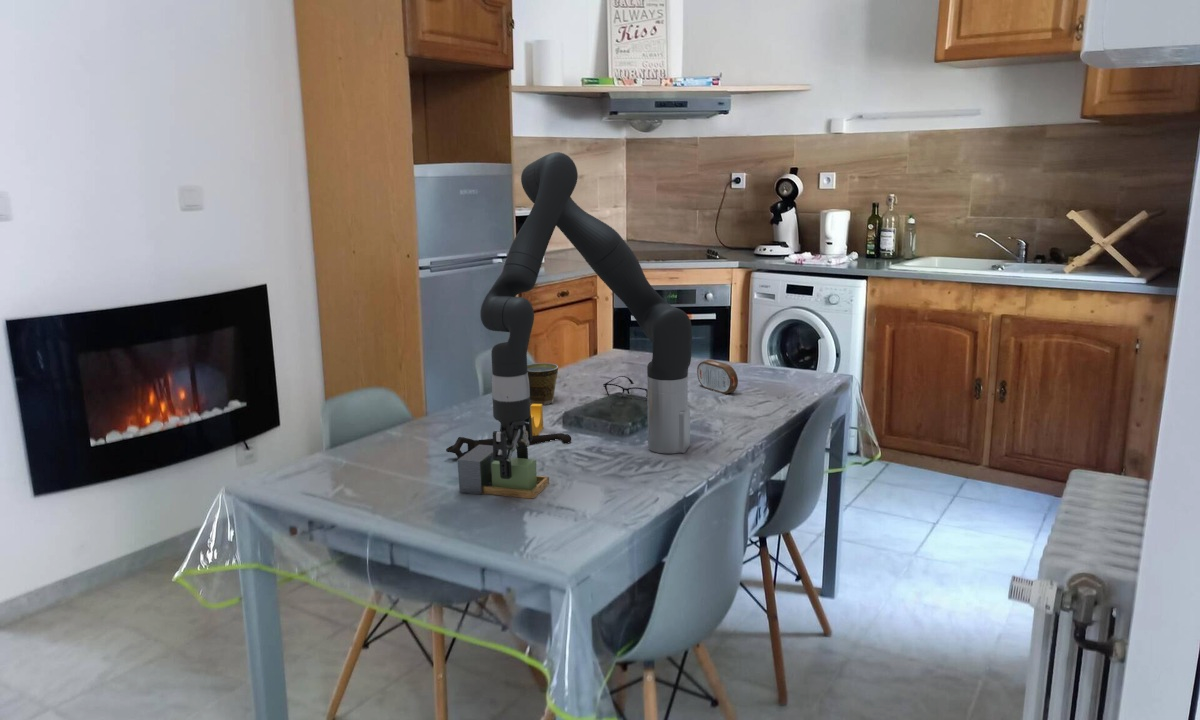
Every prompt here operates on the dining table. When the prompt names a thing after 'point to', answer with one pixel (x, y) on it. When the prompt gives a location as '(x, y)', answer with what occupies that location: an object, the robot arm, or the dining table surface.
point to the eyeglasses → (622, 387)
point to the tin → (717, 376)
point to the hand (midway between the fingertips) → (514, 471)
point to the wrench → (536, 439)
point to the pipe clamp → (536, 419)
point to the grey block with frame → (488, 475)
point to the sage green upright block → (516, 474)
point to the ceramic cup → (542, 382)
